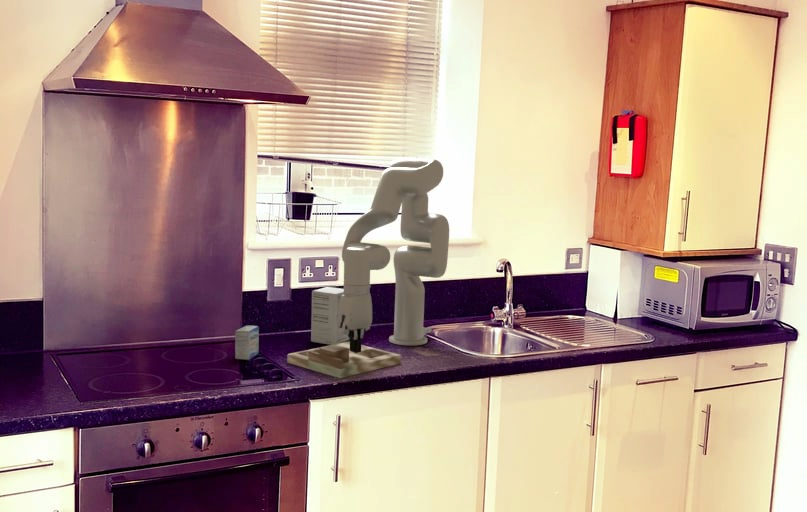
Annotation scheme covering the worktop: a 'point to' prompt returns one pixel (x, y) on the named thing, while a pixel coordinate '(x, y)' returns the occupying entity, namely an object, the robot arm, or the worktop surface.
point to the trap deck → (336, 367)
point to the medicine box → (246, 342)
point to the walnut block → (336, 352)
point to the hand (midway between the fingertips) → (355, 351)
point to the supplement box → (326, 316)
